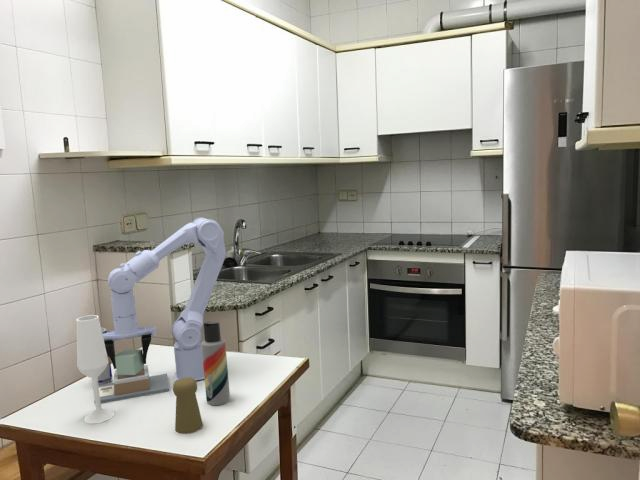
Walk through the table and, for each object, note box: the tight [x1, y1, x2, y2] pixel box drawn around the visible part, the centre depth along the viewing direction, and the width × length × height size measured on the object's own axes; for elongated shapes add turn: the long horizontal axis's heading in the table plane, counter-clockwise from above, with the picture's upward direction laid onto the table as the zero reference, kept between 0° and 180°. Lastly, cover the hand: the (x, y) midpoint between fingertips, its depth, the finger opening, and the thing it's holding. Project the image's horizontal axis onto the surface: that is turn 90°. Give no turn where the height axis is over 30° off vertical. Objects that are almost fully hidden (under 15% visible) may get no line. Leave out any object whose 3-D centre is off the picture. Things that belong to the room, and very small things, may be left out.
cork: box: [172, 378, 204, 435], centre depth 119 cm, size 6×6×11 cm
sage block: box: [115, 348, 145, 375], centre depth 141 cm, size 5×5×5 cm
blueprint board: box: [93, 364, 170, 404], centre depth 142 cm, size 18×11×5 cm, turn 108°
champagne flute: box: [75, 314, 115, 424], centre depth 126 cm, size 7×7×24 cm
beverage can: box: [97, 327, 113, 385], centre depth 147 cm, size 5×5×15 cm
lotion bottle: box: [201, 321, 231, 406], centre depth 131 cm, size 6×6×20 cm
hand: (130, 365), depth 141 cm, fingers closed on sage block, 6 cm apart
